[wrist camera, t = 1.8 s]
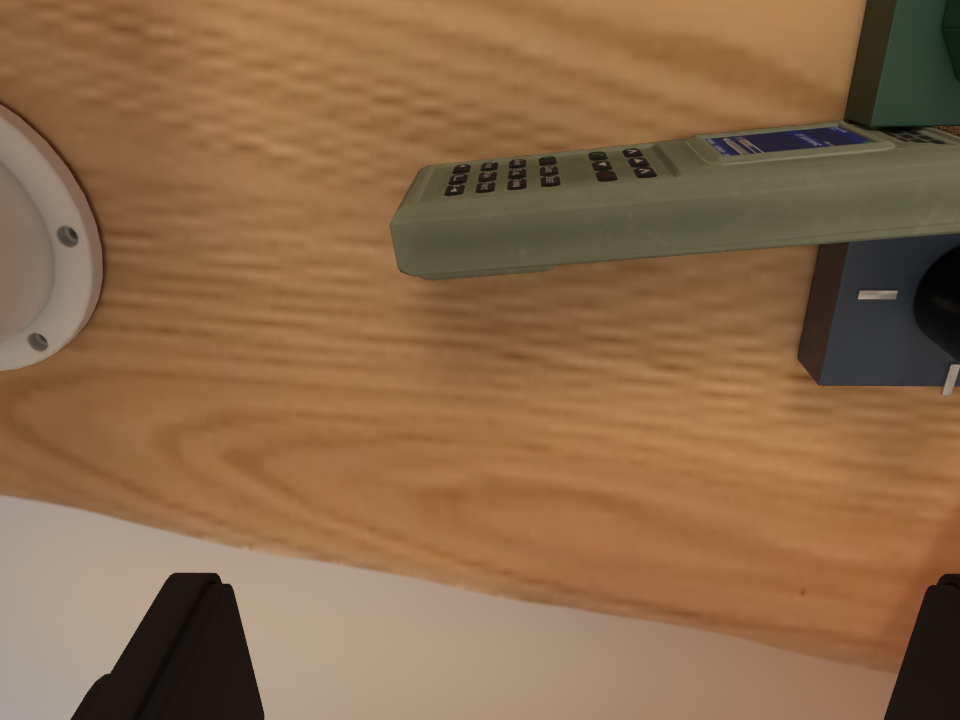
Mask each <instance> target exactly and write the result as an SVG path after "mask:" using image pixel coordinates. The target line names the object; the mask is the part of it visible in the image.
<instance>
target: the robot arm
mask: <svg viewBox="0 0 960 720" xmlns="http://www.w3.org/2000/svg"><path fill="white" fill-rule="evenodd" d="M102 279H103V262H102V248H101V243H100V239H99V234H98V230H97V225H96V222H95V219H94V217H93V214H92V212H91V210H90V207H89V205H88V202H87V200H86V197H85V195H84V193H83V192H82V190H81V188H80V187H79V185H78V183H77V182H76V180H75V178H74V177H73V175H72V173H71V172H70V170H69V169H68V167H67V166H66V164H65V163H64V162H63V161H62V160H61V158H60V157H59V156H58V155H57V154H56V152H55V151H54V150H53V149H52V148H51V146H50V145H49V144H48V143H47V142H46V140H44V139H43V138H42V137H41V136H40V135H39V134H38V133H37V132H36V131H35V130H33V129H32V128H31V127H30V126H29V125H28V124H27V123H26V122H25V121H24V120H22V119H21V118H20V117H19V116H17V115H16V114H14V113H13V112H11V111H10V110H9V109H7V108H6V107H4V106H3V105H1V104H0V371H5V370H16V369H19V368H22V367H26V366H29V365H33V364H36V363H38V362H40V361H42V360H44V359H46V358H47V357H49V356H51V355H53V354H54V353H56V352H58V351H59V350H60V349H61V348H63V347H64V346H65V345H67V344H68V343H69V342H70V341H72V340H73V339H74V338H75V337H76V336H77V335H78V334H79V333H80V331H81V330H82V329H83V328H84V326H85V325H86V324H87V323H88V321H89V320H90V318H91V315H92V313H93V311H94V309H95V307H96V304H97V302H98V300H99V294H100V289H101V284H102ZM71 720H264V711H263V707H262V703H261V699H260V695H259V691H258V687H257V683H256V678H255V674H254V670H253V666H252V662H251V658H250V654H249V650H248V646H247V642H246V639H245V635H244V630H243V626H242V622H241V618H240V615H239V610H238V606H237V602H236V598H235V594H234V590H233V588H232V586H231V585H230V584H222V581H221V579H220V576H219V575H218V574H216V573H173V574H172V575H170V577H169V578H168V579H167V580H166V582H165V583H164V585H163V587H162V588H161V590H160V591H159V593H158V595H157V597H156V598H155V600H154V601H153V603H152V605H151V606H150V608H149V610H148V611H147V613H146V615H145V616H144V618H143V620H142V621H141V623H140V625H139V627H138V628H137V630H136V631H135V633H134V635H133V637H132V638H131V640H130V642H129V643H128V645H127V646H126V648H125V650H124V651H123V653H122V655H121V656H120V658H119V660H118V661H117V663H116V665H115V666H114V668H113V670H112V671H111V673H110V674H105V675H104V676H102V677H101V678H100V679H98V680H97V681H96V682H95V683H94V684H93V686H92V687H91V688H90V690H89V691H88V692H87V694H86V695H85V697H84V699H83V701H82V702H81V704H80V705H79V707H78V708H77V710H76V712H75V713H74V715H73V716H72V718H71ZM884 720H960V574H944V575H943V576H942V577H940V579H939V581H938V583H937V585H931V586H930V587H928V589H927V591H926V592H925V595H924V599H923V602H922V605H921V608H920V611H919V614H918V617H917V620H916V623H915V626H914V629H913V632H912V635H911V638H910V641H909V644H908V647H907V650H906V653H905V656H904V659H903V662H902V666H901V669H900V672H899V675H898V678H897V681H896V684H895V687H894V690H893V693H892V696H891V699H890V702H889V705H888V708H887V711H886V714H885V717H884Z"/></svg>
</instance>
